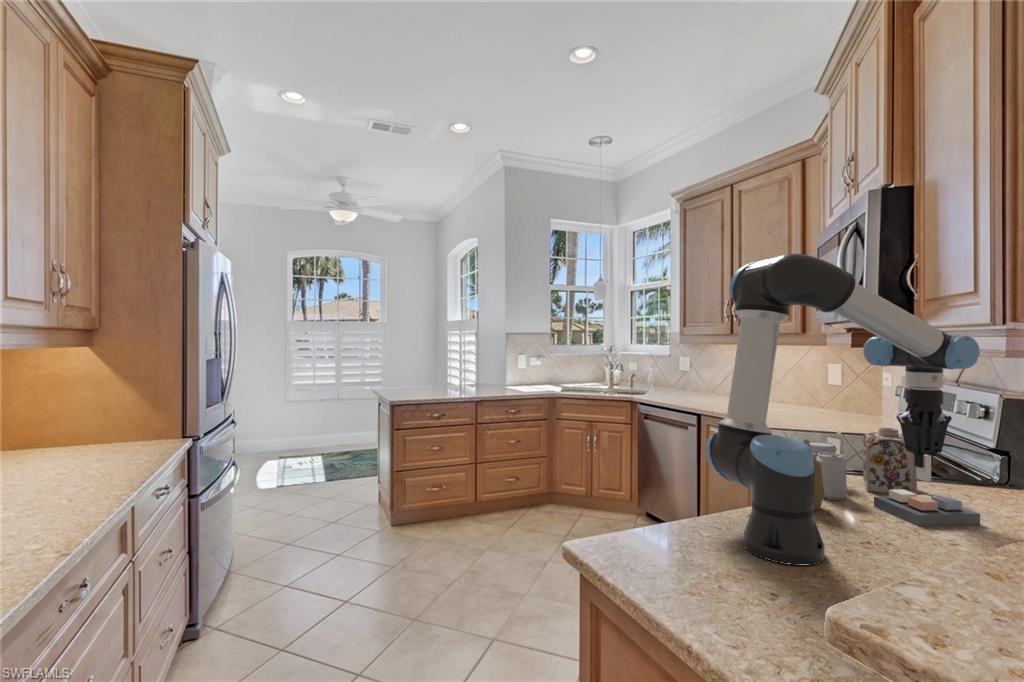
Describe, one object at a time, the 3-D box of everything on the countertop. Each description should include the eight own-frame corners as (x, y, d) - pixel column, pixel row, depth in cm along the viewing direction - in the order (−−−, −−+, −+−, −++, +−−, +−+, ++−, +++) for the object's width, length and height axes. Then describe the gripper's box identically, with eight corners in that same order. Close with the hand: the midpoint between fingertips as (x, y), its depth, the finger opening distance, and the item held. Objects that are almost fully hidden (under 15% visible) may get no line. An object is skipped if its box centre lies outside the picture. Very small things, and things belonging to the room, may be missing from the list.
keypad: (919, 526, 117) (918, 515, 117) (873, 506, 131) (873, 496, 131) (980, 524, 118) (980, 513, 118) (928, 505, 132) (928, 495, 132)
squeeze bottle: (783, 501, 136) (783, 436, 136) (813, 501, 136) (812, 436, 136) (800, 512, 128) (799, 442, 128) (831, 512, 127) (830, 442, 127)
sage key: (924, 512, 125) (924, 499, 125) (911, 507, 129) (911, 495, 129) (939, 511, 126) (939, 499, 126) (926, 506, 130) (926, 494, 130)
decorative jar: (917, 498, 138) (916, 433, 138) (866, 491, 144) (865, 430, 144) (910, 487, 148) (910, 427, 148) (863, 481, 154) (862, 423, 154)
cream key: (901, 506, 125) (901, 494, 125) (889, 501, 129) (888, 489, 129) (916, 506, 125) (916, 494, 125) (903, 501, 129) (903, 489, 129)
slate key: (946, 514, 119) (945, 501, 119) (931, 508, 123) (931, 496, 123) (962, 514, 120) (961, 501, 120) (946, 508, 124) (946, 496, 124)
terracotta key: (921, 515, 119) (921, 502, 119) (908, 509, 123) (907, 496, 123) (938, 514, 119) (937, 501, 119) (923, 509, 123) (923, 496, 123)
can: (851, 501, 136) (851, 457, 136) (821, 499, 137) (821, 456, 137) (839, 492, 143) (838, 451, 143) (811, 491, 144) (810, 450, 144)
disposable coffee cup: (837, 480, 156) (836, 442, 156) (837, 488, 148) (837, 447, 148) (802, 476, 161) (801, 439, 161) (800, 483, 153) (800, 444, 153)
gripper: (911, 389, 124) (911, 484, 123) (962, 390, 124) (961, 484, 124) (887, 387, 131) (887, 476, 131) (935, 387, 131) (935, 475, 131)
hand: (923, 479), depth 127 cm, fingers closed
